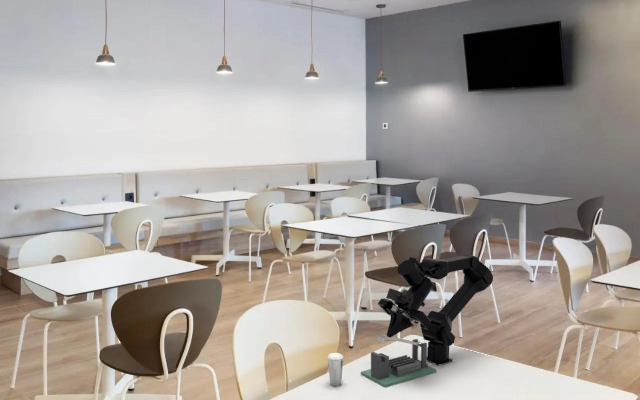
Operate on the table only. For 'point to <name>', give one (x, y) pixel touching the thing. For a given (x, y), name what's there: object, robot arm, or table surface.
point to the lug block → (379, 365)
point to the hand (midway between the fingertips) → (388, 336)
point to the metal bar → (383, 337)
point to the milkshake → (335, 368)
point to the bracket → (423, 354)
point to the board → (396, 380)
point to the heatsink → (403, 366)
